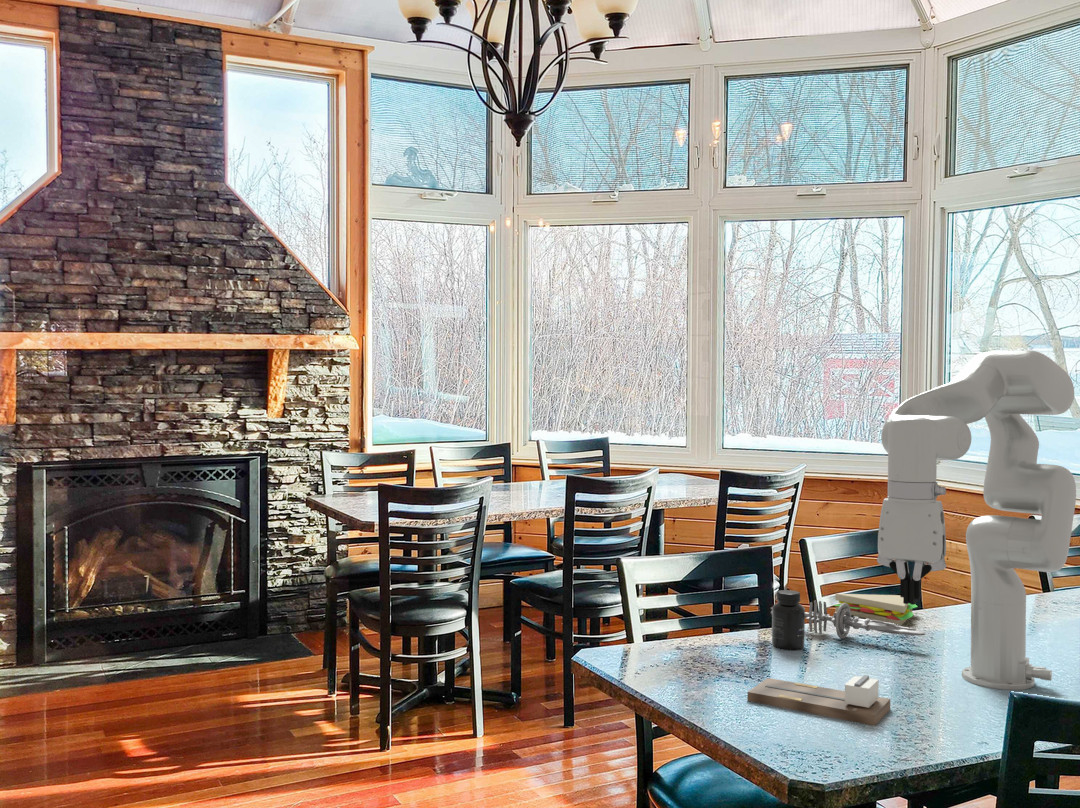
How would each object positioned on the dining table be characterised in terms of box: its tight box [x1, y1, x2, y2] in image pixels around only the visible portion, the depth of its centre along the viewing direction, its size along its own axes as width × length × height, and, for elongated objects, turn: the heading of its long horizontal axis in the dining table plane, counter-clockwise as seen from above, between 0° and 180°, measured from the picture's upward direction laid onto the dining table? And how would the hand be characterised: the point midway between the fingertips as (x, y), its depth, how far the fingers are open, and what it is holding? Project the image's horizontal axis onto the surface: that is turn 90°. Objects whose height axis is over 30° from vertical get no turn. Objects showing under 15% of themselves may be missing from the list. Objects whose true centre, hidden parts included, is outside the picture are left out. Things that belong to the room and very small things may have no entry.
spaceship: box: [769, 600, 926, 640], centre depth 215 cm, size 8×35×8 cm, turn 51°
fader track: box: [747, 677, 891, 726], centre depth 169 cm, size 22×10×2 cm, turn 56°
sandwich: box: [833, 593, 918, 626], centre depth 237 cm, size 15×20×5 cm
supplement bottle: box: [771, 589, 806, 651], centre depth 208 cm, size 7×7×12 cm
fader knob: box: [844, 674, 879, 708], centre depth 165 cm, size 4×6×4 cm, turn 146°
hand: (910, 602), depth 160 cm, fingers closed
